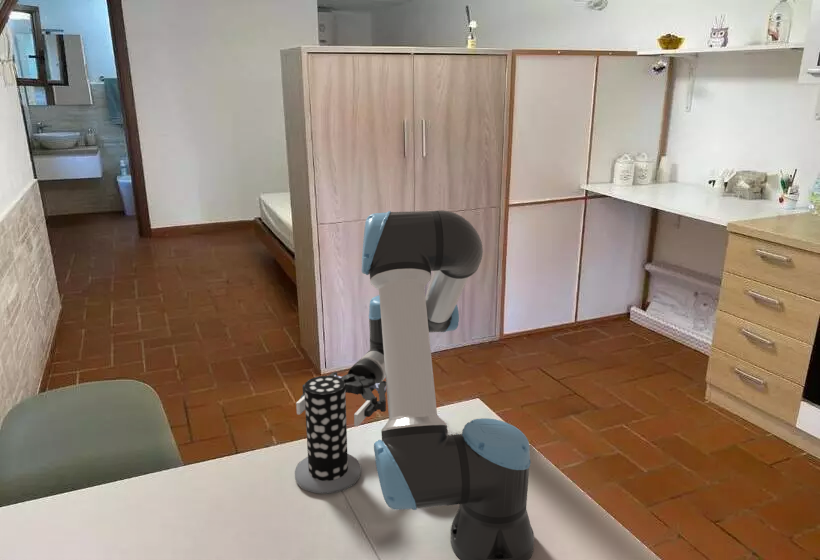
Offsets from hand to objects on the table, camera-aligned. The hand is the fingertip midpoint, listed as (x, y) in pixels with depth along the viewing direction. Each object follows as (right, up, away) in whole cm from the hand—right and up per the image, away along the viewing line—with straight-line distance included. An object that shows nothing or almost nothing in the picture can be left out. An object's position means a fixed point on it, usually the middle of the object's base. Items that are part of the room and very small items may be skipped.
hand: (326, 414), depth 132 cm
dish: (0, -14, +3) cm, 14 cm away
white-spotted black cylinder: (0, -13, +3) cm, 13 cm away
